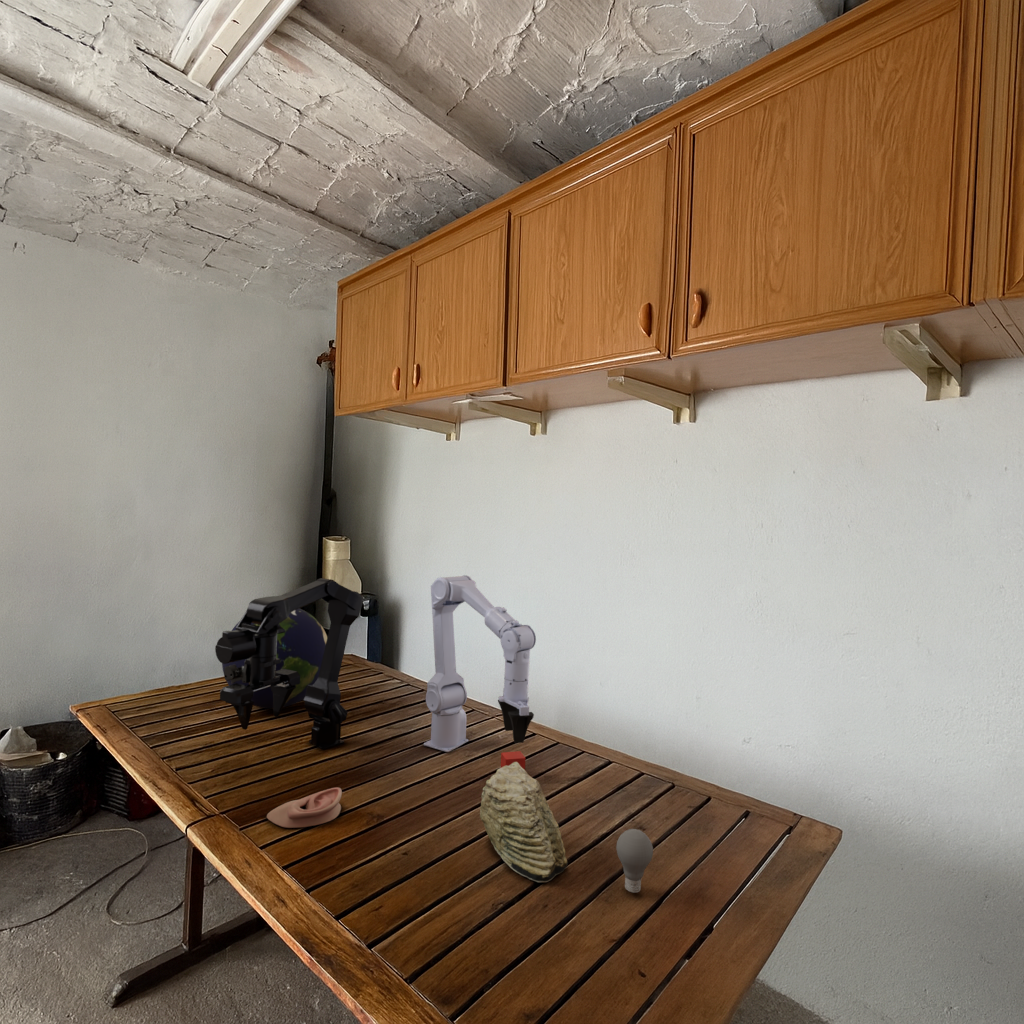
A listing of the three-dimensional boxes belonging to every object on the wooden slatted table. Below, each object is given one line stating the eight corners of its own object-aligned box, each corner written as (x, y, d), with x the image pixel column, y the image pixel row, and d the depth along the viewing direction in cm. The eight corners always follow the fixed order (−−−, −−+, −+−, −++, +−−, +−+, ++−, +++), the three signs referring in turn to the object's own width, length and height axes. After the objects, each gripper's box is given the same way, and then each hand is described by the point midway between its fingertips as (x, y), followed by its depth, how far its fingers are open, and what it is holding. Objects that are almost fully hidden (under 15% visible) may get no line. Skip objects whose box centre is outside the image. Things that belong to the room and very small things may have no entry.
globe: (289, 685, 209) (292, 594, 208) (348, 705, 191) (352, 606, 191) (199, 706, 185) (203, 604, 184) (258, 732, 167) (262, 619, 167)
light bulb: (610, 879, 108) (613, 822, 108) (644, 879, 109) (647, 822, 109) (619, 902, 102) (622, 840, 102) (655, 901, 103) (658, 840, 103)
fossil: (501, 827, 124) (504, 751, 124) (575, 868, 111) (578, 784, 111) (467, 843, 118) (470, 763, 118) (541, 889, 105) (545, 799, 105)
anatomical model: (258, 803, 122) (290, 777, 133) (257, 823, 122) (290, 796, 133) (321, 812, 119) (349, 786, 130) (320, 833, 119) (348, 805, 130)
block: (500, 773, 149) (501, 752, 149) (519, 771, 151) (520, 751, 150) (504, 780, 145) (505, 759, 145) (524, 778, 147) (525, 757, 147)
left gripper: (267, 642, 156) (265, 705, 156) (203, 658, 139) (200, 728, 139) (302, 648, 151) (300, 713, 152) (240, 665, 134) (237, 738, 135)
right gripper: (492, 670, 153) (489, 726, 154) (508, 688, 139) (505, 749, 140) (520, 669, 155) (517, 724, 156) (538, 686, 141) (536, 747, 142)
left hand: (260, 722), depth 145 cm, fingers open, 9 cm apart
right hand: (514, 736), depth 148 cm, fingers open, 7 cm apart
